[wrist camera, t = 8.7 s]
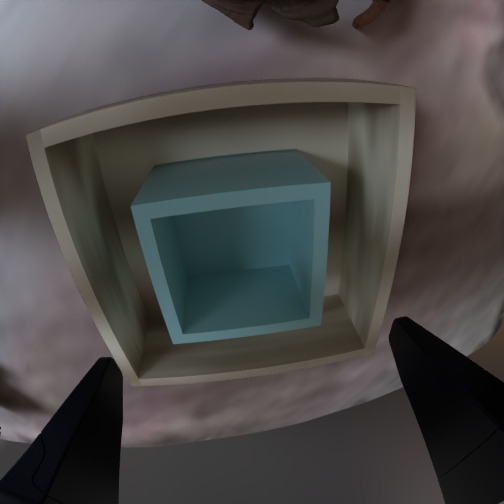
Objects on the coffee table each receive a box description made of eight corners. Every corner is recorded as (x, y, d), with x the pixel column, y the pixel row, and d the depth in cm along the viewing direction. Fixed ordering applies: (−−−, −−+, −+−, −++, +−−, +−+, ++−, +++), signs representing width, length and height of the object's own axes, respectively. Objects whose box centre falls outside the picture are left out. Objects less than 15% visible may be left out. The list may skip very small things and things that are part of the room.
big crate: (81, 112, 13) (25, 134, 8) (355, 79, 14) (415, 87, 9) (143, 320, 20) (131, 386, 16) (343, 294, 21) (373, 353, 16)
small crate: (179, 280, 18) (173, 344, 14) (154, 165, 14) (130, 206, 10) (297, 265, 19) (321, 325, 14) (296, 148, 15) (330, 182, 11)
